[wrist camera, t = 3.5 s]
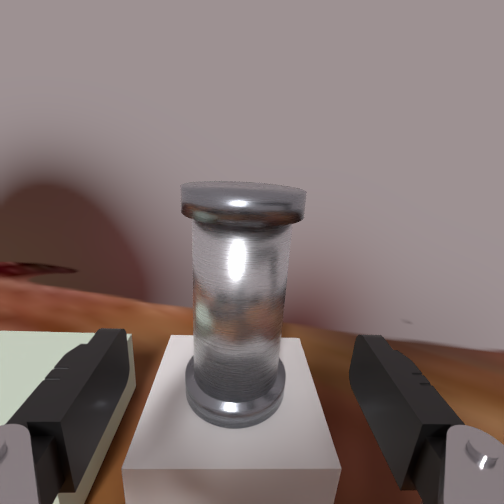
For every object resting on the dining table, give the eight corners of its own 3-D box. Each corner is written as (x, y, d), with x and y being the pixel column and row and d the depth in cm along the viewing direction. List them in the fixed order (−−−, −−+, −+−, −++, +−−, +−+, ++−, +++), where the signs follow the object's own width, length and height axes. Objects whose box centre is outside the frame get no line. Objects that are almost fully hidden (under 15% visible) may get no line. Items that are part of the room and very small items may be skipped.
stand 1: (136, 385, 24) (131, 334, 22) (68, 540, 14) (51, 469, 13) (8, 384, 23) (-6, 330, 22) (-150, 543, 14) (-197, 469, 12)
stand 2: (292, 388, 25) (299, 338, 23) (326, 536, 15) (341, 468, 13) (173, 386, 24) (171, 335, 22) (130, 539, 14) (121, 469, 13)
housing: (277, 354, 21) (294, 184, 17) (291, 429, 15) (321, 200, 11) (193, 352, 21) (191, 179, 17) (176, 428, 15) (166, 192, 11)
